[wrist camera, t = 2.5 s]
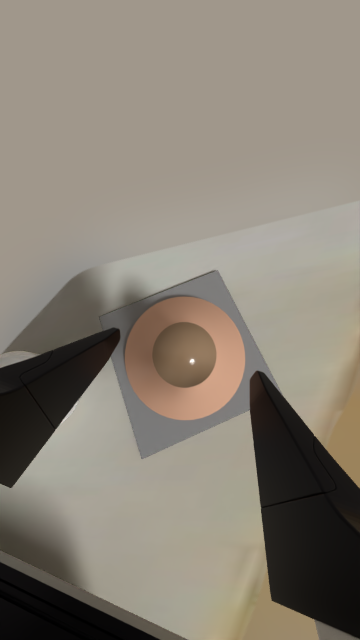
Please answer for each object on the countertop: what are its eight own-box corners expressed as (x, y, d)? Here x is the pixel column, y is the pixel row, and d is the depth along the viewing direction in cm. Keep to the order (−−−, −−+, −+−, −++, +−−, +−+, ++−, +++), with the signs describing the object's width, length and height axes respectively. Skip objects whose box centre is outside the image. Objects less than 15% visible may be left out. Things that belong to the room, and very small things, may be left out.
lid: (262, 386, 16) (380, 437, 7) (150, 437, 16) (93, 579, 6) (212, 284, 19) (241, 211, 9) (114, 323, 18) (33, 289, 9)
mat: (280, 394, 16) (282, 395, 16) (142, 456, 16) (141, 459, 15) (216, 271, 20) (217, 270, 19) (100, 317, 19) (99, 316, 18)
